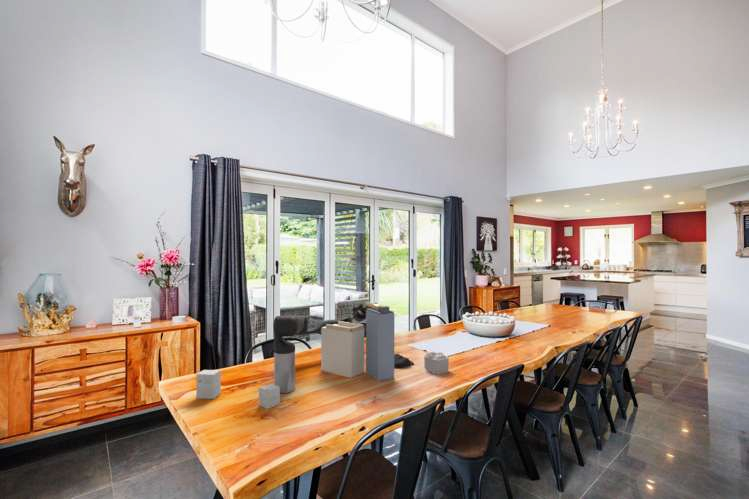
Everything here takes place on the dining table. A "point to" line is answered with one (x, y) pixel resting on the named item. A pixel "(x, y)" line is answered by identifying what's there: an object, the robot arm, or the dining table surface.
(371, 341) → the post
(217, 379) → the small box
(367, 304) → the pin
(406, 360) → the dark slate chunk
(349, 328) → the upright beige carton
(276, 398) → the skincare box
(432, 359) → the lumpy-topped squat cylinder
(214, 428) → the dining table surface
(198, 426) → the dining table surface
